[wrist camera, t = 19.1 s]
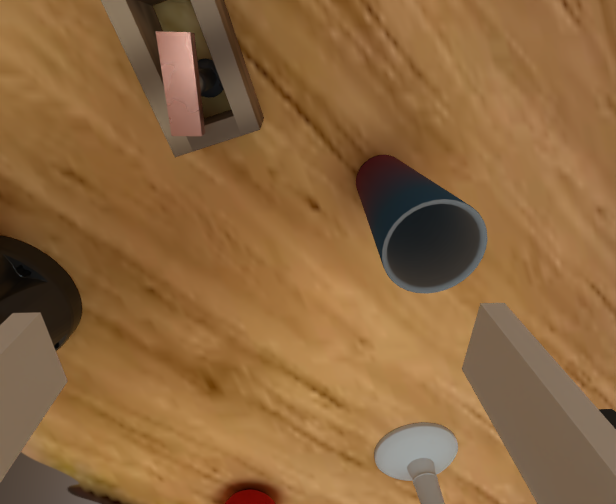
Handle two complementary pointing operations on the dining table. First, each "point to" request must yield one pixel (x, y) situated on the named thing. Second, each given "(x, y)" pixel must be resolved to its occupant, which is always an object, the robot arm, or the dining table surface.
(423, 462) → the candlestick
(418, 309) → the dining table surface
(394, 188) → the cup
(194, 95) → the mallet
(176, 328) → the dining table surface
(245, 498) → the red apple
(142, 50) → the brown hollow block
